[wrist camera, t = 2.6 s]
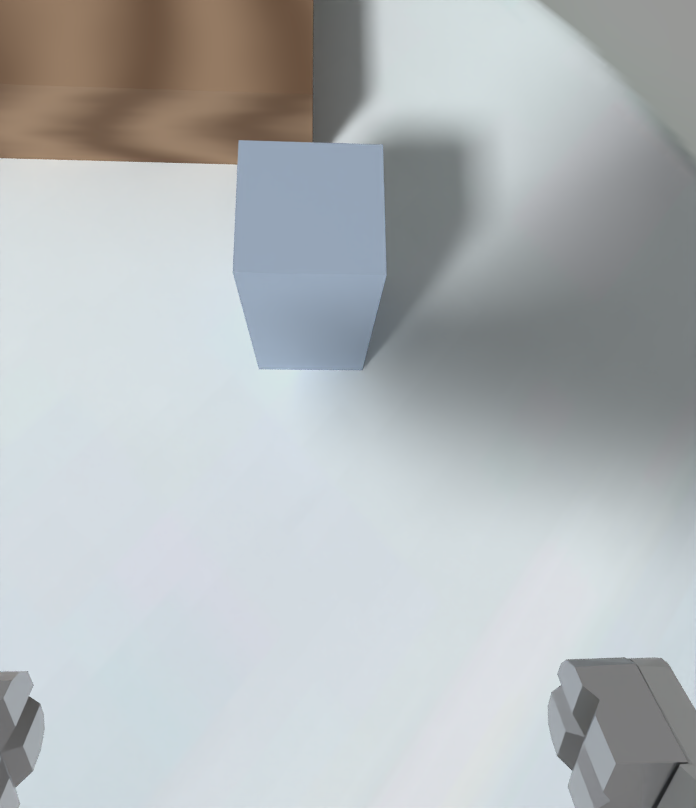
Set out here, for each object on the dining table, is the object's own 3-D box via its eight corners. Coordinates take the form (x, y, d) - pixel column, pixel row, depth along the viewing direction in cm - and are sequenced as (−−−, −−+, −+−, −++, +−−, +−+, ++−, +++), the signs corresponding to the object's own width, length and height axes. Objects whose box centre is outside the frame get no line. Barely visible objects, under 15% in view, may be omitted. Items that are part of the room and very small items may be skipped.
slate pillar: (258, 369, 26) (232, 272, 18) (262, 274, 27) (238, 140, 19) (362, 370, 27) (386, 274, 18) (360, 276, 28) (382, 144, 19)
